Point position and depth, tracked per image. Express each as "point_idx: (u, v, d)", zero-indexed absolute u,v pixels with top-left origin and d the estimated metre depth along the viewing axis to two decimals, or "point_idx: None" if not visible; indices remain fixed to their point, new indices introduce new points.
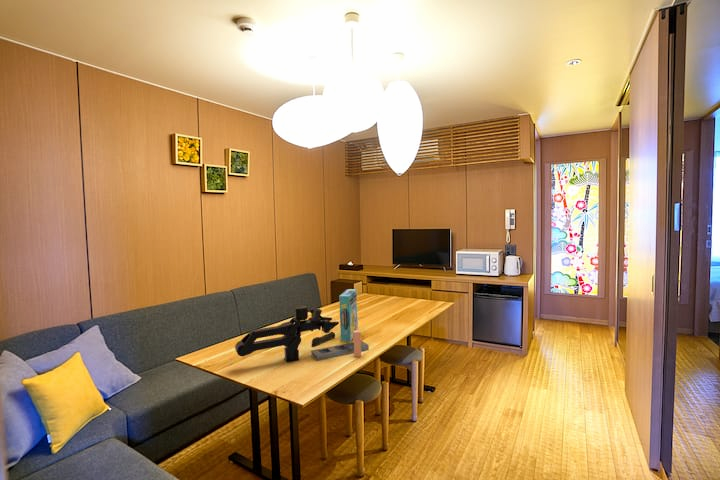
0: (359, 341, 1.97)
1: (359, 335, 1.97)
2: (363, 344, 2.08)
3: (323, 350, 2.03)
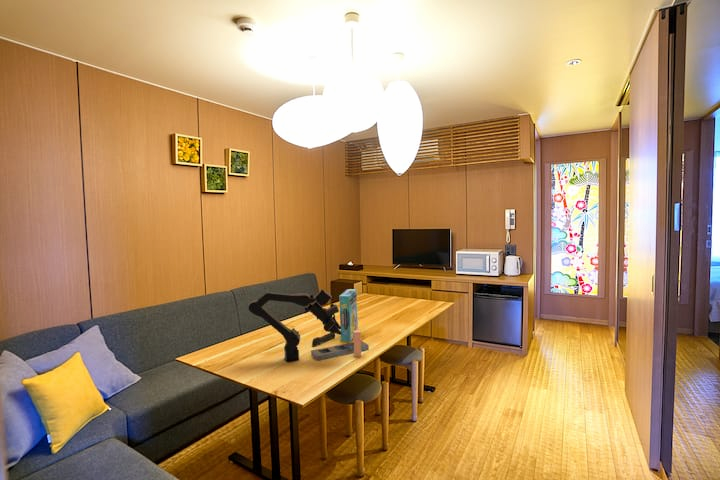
0: (359, 341, 1.97)
1: (359, 335, 1.97)
2: (363, 344, 2.08)
3: (323, 350, 2.03)
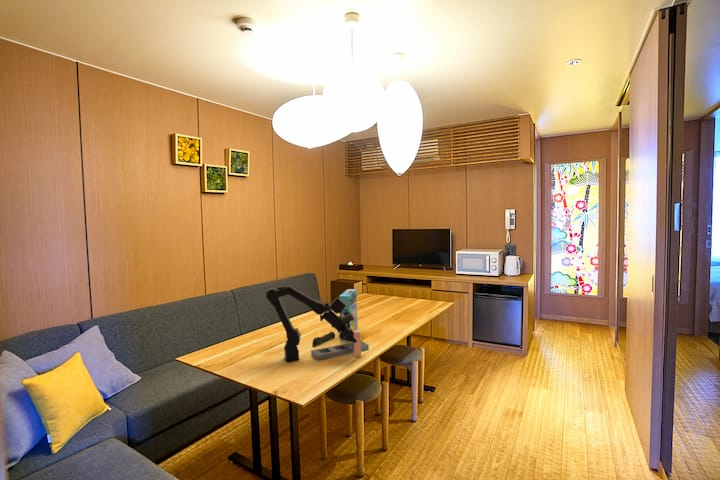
0: (359, 341, 1.97)
1: (359, 335, 1.97)
2: (363, 344, 2.08)
3: (323, 350, 2.03)
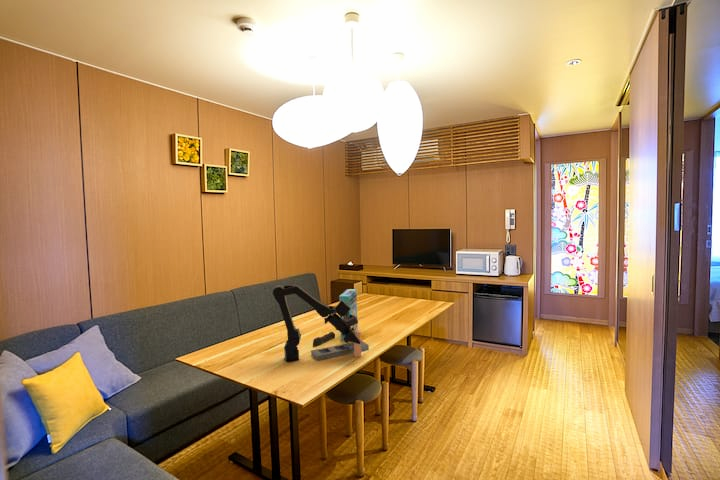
0: None
1: (359, 335, 1.97)
2: (363, 344, 2.08)
3: (323, 350, 2.03)
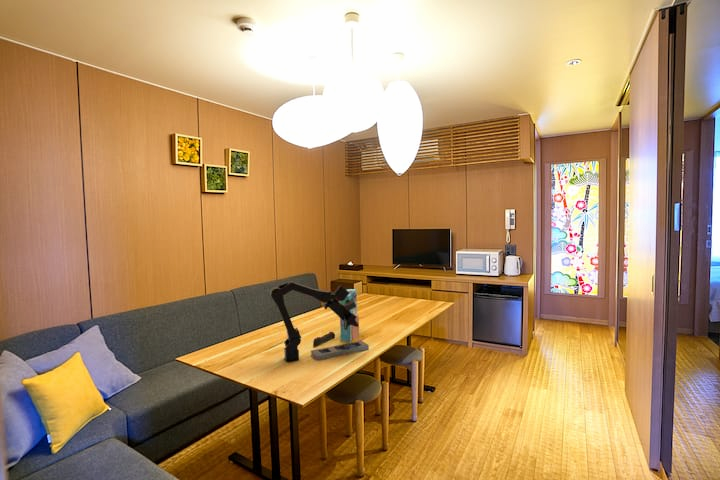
0: None
1: (357, 318, 2.05)
2: (363, 344, 2.08)
3: (323, 350, 2.03)
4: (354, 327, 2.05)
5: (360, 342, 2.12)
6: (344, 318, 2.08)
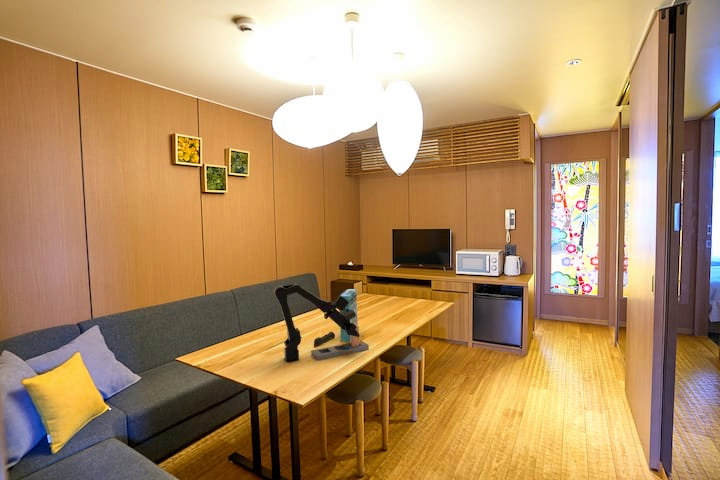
0: None
1: (357, 329, 2.06)
2: (363, 344, 2.08)
3: (323, 350, 2.03)
4: (354, 338, 2.06)
5: (360, 342, 2.12)
6: None
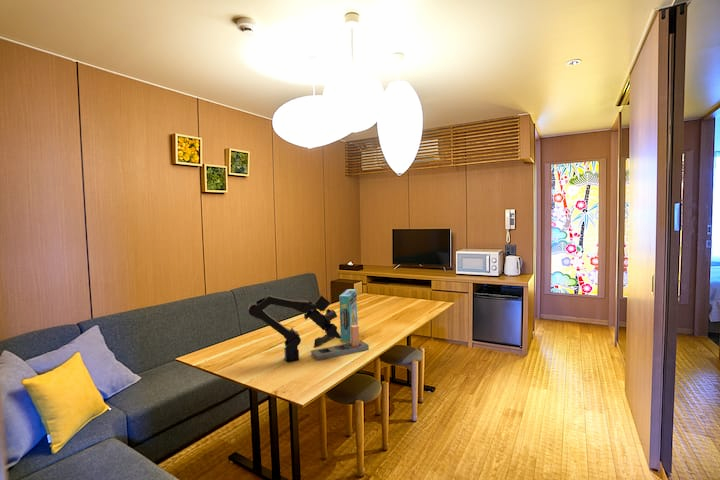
0: (357, 335, 2.07)
1: (357, 329, 2.06)
2: (363, 344, 2.08)
3: (323, 350, 2.03)
4: (354, 338, 2.06)
5: (360, 342, 2.12)
6: None
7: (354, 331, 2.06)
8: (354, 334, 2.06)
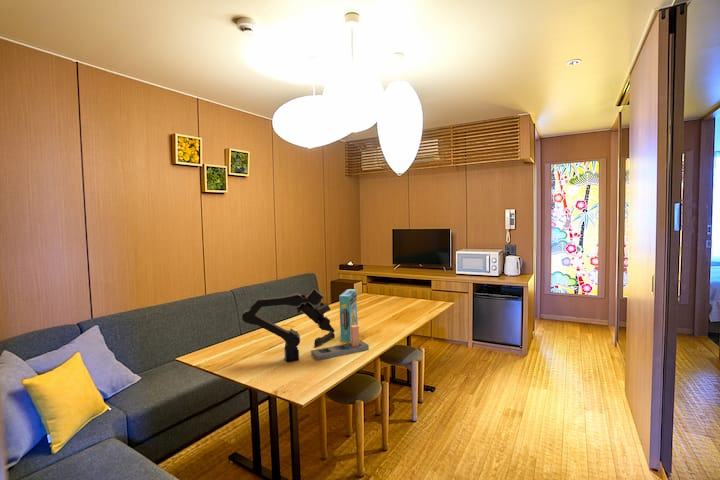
0: (357, 335, 2.07)
1: (357, 329, 2.06)
2: (363, 344, 2.08)
3: (323, 350, 2.03)
4: (354, 338, 2.06)
5: (360, 342, 2.12)
6: None
7: (354, 331, 2.06)
8: (354, 334, 2.06)
